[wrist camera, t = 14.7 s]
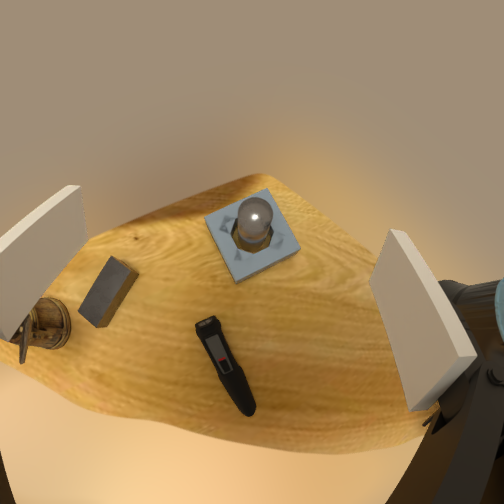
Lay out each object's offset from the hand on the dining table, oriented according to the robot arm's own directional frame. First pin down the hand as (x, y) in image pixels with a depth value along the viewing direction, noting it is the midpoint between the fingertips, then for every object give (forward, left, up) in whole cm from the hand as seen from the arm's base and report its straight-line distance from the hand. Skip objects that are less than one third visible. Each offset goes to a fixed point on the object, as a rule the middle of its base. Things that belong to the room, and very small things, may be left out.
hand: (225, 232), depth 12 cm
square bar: (+8, +17, -33) cm, 38 cm away
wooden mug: (+7, +29, -33) cm, 45 cm away
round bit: (+6, -6, -33) cm, 34 cm away
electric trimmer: (-9, +6, -33) cm, 35 cm away
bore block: (+6, -6, -33) cm, 34 cm away
